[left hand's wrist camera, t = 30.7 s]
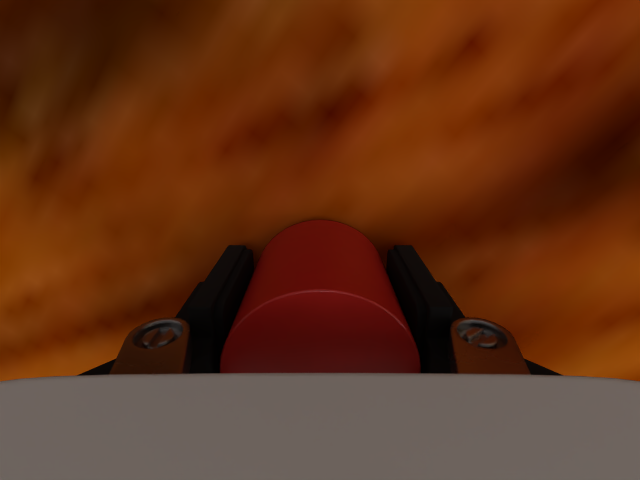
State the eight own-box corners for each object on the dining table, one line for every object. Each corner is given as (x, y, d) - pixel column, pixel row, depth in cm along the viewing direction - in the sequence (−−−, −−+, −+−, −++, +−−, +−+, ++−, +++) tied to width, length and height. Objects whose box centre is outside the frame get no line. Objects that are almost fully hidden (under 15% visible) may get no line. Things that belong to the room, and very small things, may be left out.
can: (281, 199, 11) (255, 258, 7) (406, 247, 12) (458, 331, 7) (239, 311, 12) (196, 421, 8) (353, 349, 13) (369, 472, 9)
